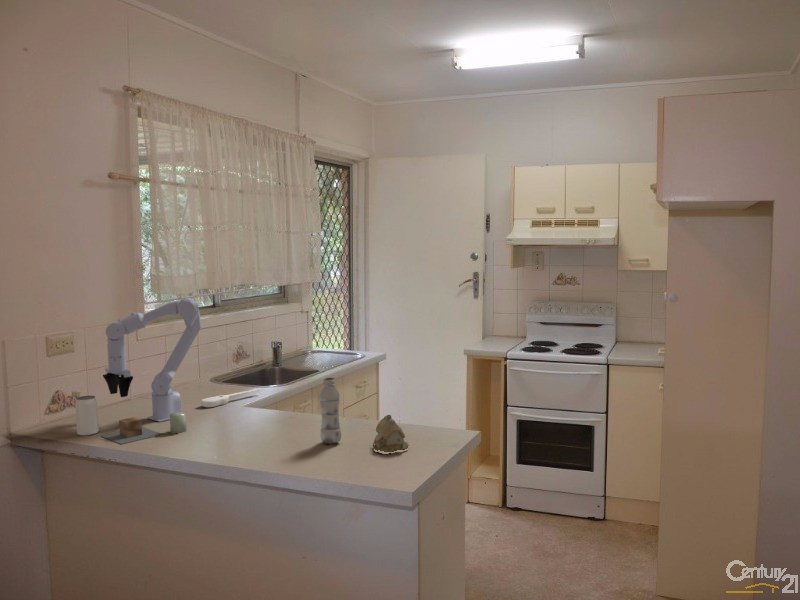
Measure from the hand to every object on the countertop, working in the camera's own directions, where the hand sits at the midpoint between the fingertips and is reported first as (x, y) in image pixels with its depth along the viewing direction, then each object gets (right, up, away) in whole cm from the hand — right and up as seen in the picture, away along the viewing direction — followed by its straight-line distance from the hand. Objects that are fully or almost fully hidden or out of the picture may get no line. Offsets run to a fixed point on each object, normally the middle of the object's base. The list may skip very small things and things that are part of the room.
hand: (118, 395), depth 240 cm
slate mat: (+11, -11, -17) cm, 23 cm away
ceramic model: (+95, -11, -34) cm, 101 cm away
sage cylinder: (+25, -10, -13) cm, 30 cm away
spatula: (+33, -7, +29) cm, 44 cm away
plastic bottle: (+77, -11, -29) cm, 83 cm away
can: (-5, -11, -14) cm, 18 cm away
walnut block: (+11, -11, -17) cm, 23 cm away
